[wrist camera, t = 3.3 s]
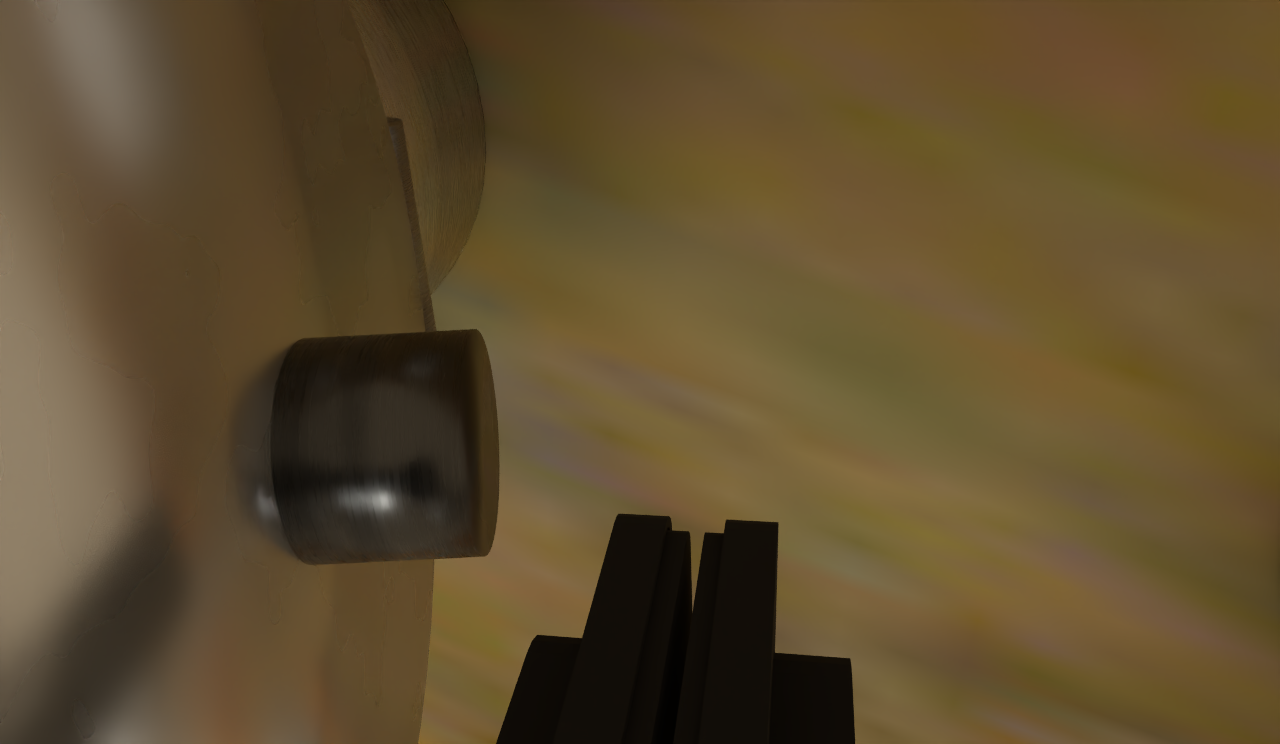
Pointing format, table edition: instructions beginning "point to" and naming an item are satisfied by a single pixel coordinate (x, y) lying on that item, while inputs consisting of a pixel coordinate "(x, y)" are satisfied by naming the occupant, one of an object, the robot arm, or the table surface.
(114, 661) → the lid
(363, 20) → the pot
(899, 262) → the table surface
